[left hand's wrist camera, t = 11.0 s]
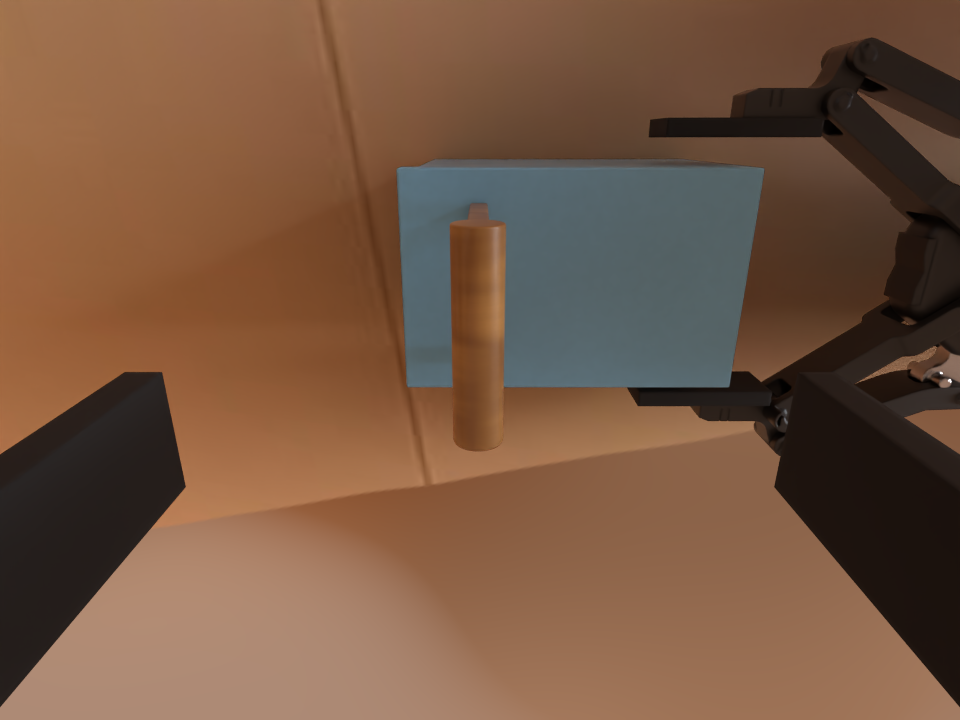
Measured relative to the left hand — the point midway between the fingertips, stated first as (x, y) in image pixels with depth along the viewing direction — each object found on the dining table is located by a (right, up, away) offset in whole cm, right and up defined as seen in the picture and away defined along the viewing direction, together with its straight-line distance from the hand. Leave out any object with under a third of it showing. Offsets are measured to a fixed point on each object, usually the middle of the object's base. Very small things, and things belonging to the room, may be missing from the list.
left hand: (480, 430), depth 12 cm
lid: (+4, +5, +13) cm, 14 cm away
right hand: (+8, +6, +16) cm, 18 cm away
